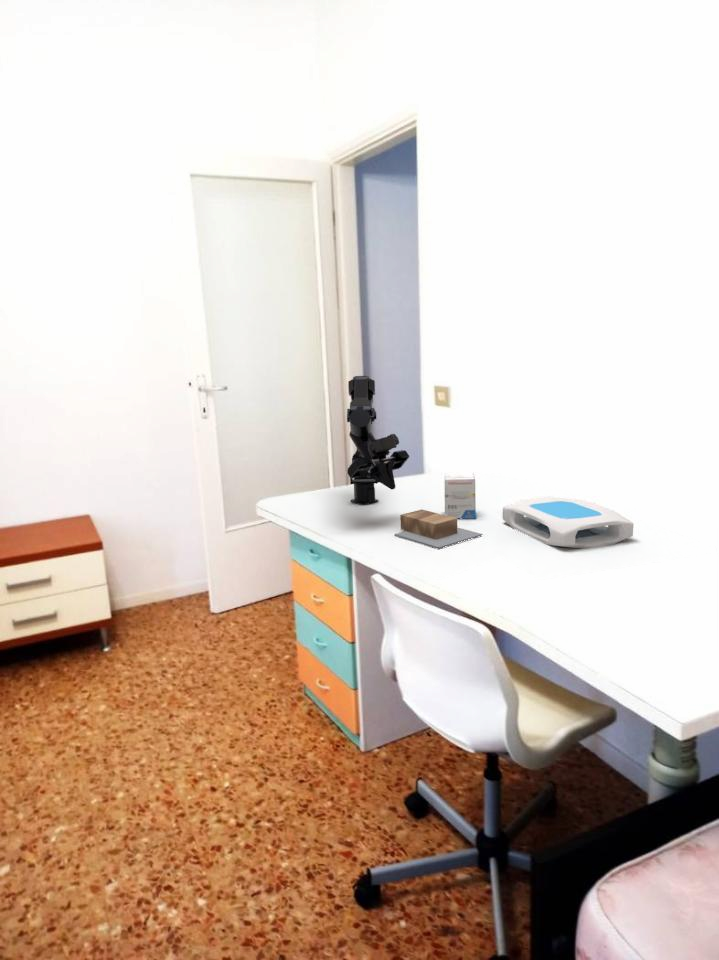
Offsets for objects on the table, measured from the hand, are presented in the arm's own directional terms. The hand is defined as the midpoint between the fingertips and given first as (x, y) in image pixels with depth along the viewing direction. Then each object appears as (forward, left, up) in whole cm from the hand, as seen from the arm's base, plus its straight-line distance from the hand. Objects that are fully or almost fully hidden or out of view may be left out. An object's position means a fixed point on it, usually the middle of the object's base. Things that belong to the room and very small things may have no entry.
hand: (393, 488), depth 187 cm
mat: (+14, +2, -11) cm, 18 cm away
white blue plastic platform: (+34, +28, -11) cm, 46 cm away
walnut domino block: (+4, +2, -8) cm, 10 cm away
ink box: (+4, +21, -11) cm, 24 cm away
